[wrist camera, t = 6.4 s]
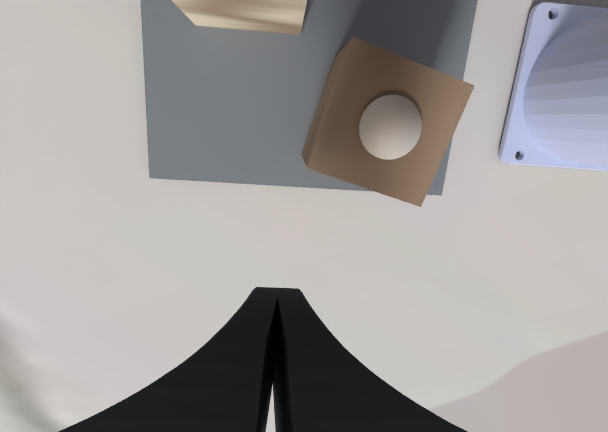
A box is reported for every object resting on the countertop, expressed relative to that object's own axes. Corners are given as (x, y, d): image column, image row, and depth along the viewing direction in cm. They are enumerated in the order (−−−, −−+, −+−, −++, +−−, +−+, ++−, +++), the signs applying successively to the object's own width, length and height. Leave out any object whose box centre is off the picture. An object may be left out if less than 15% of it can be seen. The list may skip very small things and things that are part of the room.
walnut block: (423, 94, 18) (477, 85, 13) (386, 184, 19) (422, 208, 14) (333, 58, 17) (354, 35, 12) (300, 155, 18) (307, 168, 13)
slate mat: (503, -179, 15) (512, -190, 15) (437, 193, 20) (441, 195, 20) (134, -232, 14) (128, -246, 14) (153, 176, 19) (149, 178, 18)
